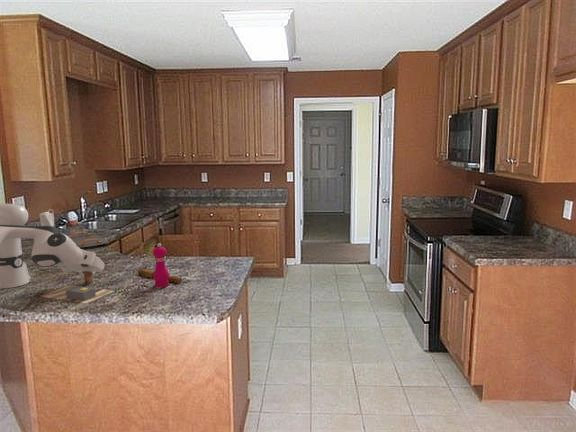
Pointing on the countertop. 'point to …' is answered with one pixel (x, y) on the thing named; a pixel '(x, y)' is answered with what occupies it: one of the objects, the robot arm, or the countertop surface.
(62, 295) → the subfloor panel
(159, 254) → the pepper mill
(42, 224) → the skyscraper
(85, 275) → the awl
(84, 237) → the serving board
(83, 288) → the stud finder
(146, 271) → the tap handle
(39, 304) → the countertop surface
